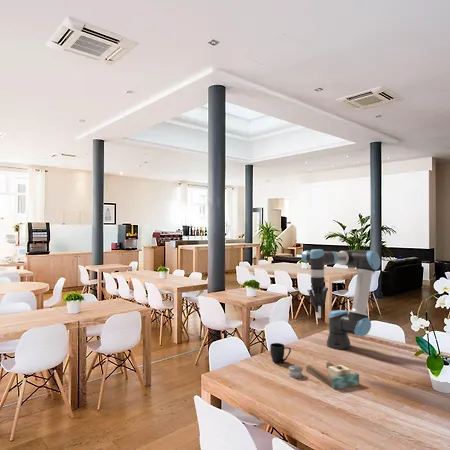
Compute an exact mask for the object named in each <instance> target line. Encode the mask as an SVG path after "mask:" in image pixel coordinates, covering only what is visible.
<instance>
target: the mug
mask: <svg viewBox="0 0 450 450" xmlns="http://www.w3.org/2000/svg"><path fill="white" fill-rule="evenodd" d="M269 349H270V350H269V351H270V356H271V360H272V362H273V363H274V364H281V363H283V362H285V361H286V360H287V359H288V357H289V356H290V354H291V352H292V348H290V347H289V346H287V347H286V346H285V344H284V343H279V342H273V343H270V348H269ZM286 349H288V350H289V351H288V354H287V355H286V356H285V350H286ZM284 356H285V357H284Z"/></svg>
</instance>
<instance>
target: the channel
mask: <svg viewBox="0 0 450 450" xmlns="http://www.w3.org/2000/svg"><path fill="white" fill-rule="evenodd" d="M335 365H336V364H334V363H332V362H330V361H328V362H327V361H326V367H325V368H326V369H328V367H329V366H335ZM305 369H306V370H305V371H306V372H307V373H308V374H311V375H312V376H313V377H315V378H316V379H318V380H319V381H320V382H322V383H324V384H325V385H327V386H328V387H330V388H331V389H333V390H338V389H343V388H349V387H353V386H359V385H360V374H359V373H358V372H355V373H350V374H348V375H342V376H336V377H331V378H330V377H328V375H327V374H324V373H323V372H321V371H319V369H317V368H315V367H313V366H311V365H310V364H308V365H306V366H305Z"/></svg>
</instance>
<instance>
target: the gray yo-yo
mask: <svg viewBox="0 0 450 450" xmlns="http://www.w3.org/2000/svg"><path fill="white" fill-rule="evenodd" d="M288 370H289V373H288V377H290V378H292V379H301V378H303V373H302V371H303V370H304V369H303V367H302V366H301V365H289V366H288Z"/></svg>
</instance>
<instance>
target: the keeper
mask: <svg viewBox="0 0 450 450" xmlns="http://www.w3.org/2000/svg"><path fill="white" fill-rule="evenodd" d="M334 365H335V366H329V367H328V368H327V369H328V370H327V371H328V372H327V373H328V375H327V376H328V377H330V378H331V377H336V376H342V375H348V374H351V368H348V367H346V366H345V365H343V364H337V365H336V364H334Z"/></svg>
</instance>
